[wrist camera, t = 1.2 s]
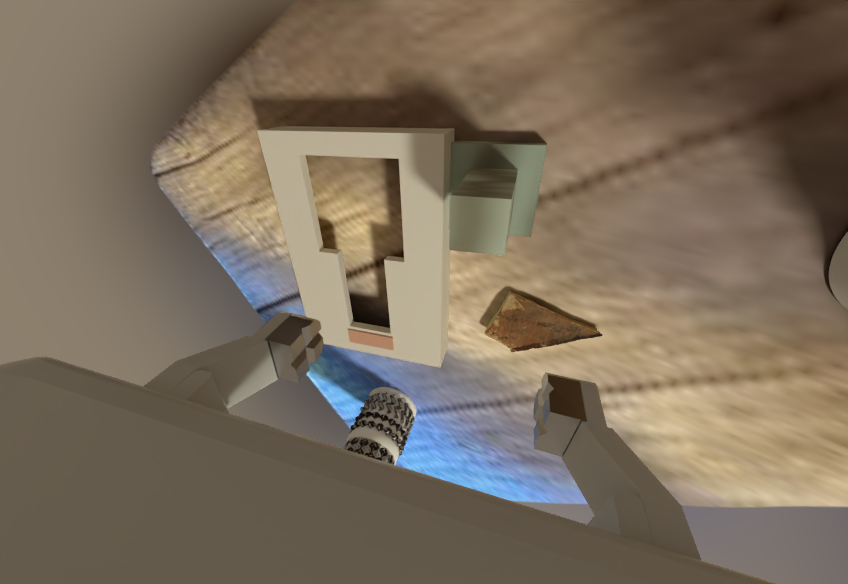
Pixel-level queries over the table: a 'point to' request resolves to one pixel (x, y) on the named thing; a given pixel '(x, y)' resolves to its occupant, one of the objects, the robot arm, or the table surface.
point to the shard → (534, 325)
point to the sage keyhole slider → (492, 193)
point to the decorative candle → (382, 425)
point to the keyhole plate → (405, 277)
